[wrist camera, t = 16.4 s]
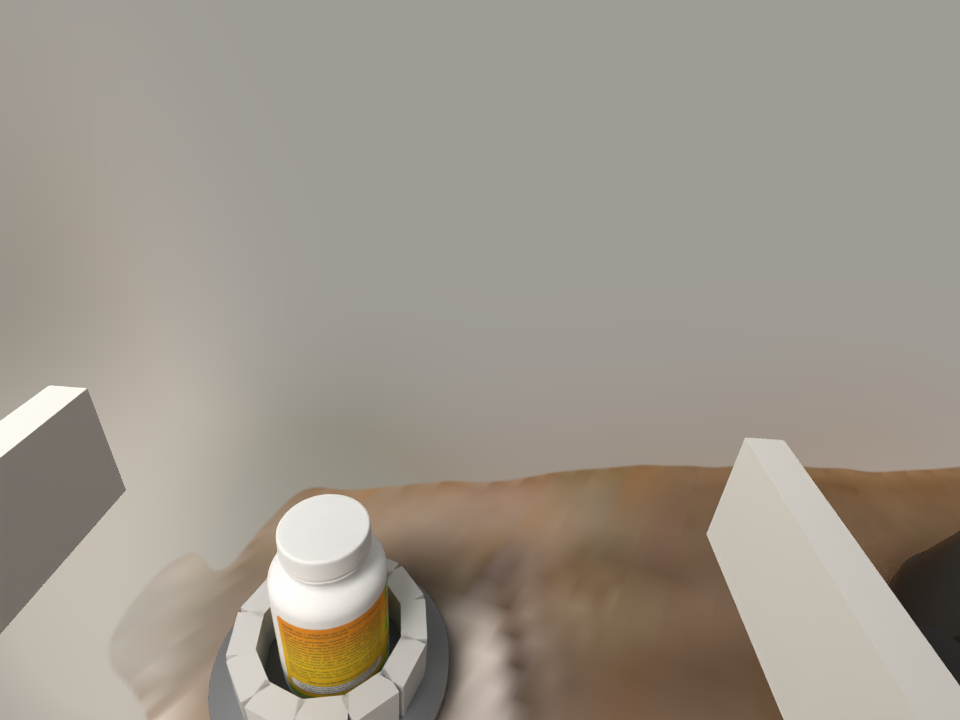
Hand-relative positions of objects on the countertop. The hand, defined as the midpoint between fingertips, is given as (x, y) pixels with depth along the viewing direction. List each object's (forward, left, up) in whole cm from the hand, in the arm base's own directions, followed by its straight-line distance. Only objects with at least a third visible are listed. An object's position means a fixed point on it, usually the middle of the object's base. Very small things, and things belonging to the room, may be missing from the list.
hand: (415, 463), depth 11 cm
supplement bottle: (+9, -8, -25) cm, 28 cm away
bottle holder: (+9, -8, -26) cm, 29 cm away
